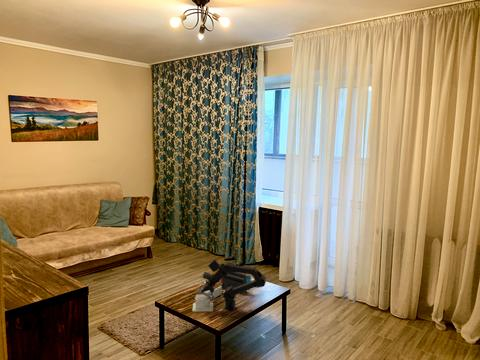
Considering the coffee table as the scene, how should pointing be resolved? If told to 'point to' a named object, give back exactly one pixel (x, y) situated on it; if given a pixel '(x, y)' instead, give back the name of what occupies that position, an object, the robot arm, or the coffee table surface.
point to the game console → (235, 280)
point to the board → (202, 309)
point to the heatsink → (202, 302)
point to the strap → (203, 293)
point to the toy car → (215, 293)
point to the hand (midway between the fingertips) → (201, 291)
